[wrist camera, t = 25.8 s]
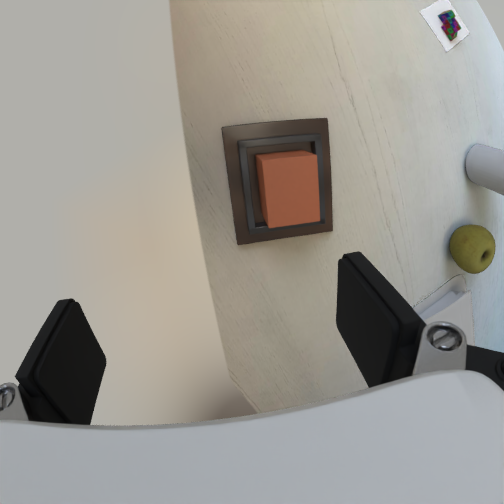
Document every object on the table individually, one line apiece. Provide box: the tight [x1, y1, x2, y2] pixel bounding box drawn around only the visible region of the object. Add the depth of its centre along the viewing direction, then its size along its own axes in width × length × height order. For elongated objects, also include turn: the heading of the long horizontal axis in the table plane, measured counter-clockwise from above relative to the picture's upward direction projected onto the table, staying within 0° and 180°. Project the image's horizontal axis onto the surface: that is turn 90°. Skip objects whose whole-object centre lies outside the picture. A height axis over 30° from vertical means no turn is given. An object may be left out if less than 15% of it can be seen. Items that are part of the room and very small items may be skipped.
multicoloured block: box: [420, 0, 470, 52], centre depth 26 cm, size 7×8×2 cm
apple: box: [450, 225, 495, 274], centre depth 39 cm, size 8×8×7 cm
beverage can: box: [466, 144, 504, 195], centre depth 32 cm, size 6×6×12 cm
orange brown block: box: [255, 150, 320, 228], centre depth 32 cm, size 7×6×5 cm
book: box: [413, 275, 475, 346], centre depth 49 cm, size 15×23×4 cm, turn 33°
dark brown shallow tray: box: [222, 118, 333, 245], centre depth 34 cm, size 14×12×2 cm
